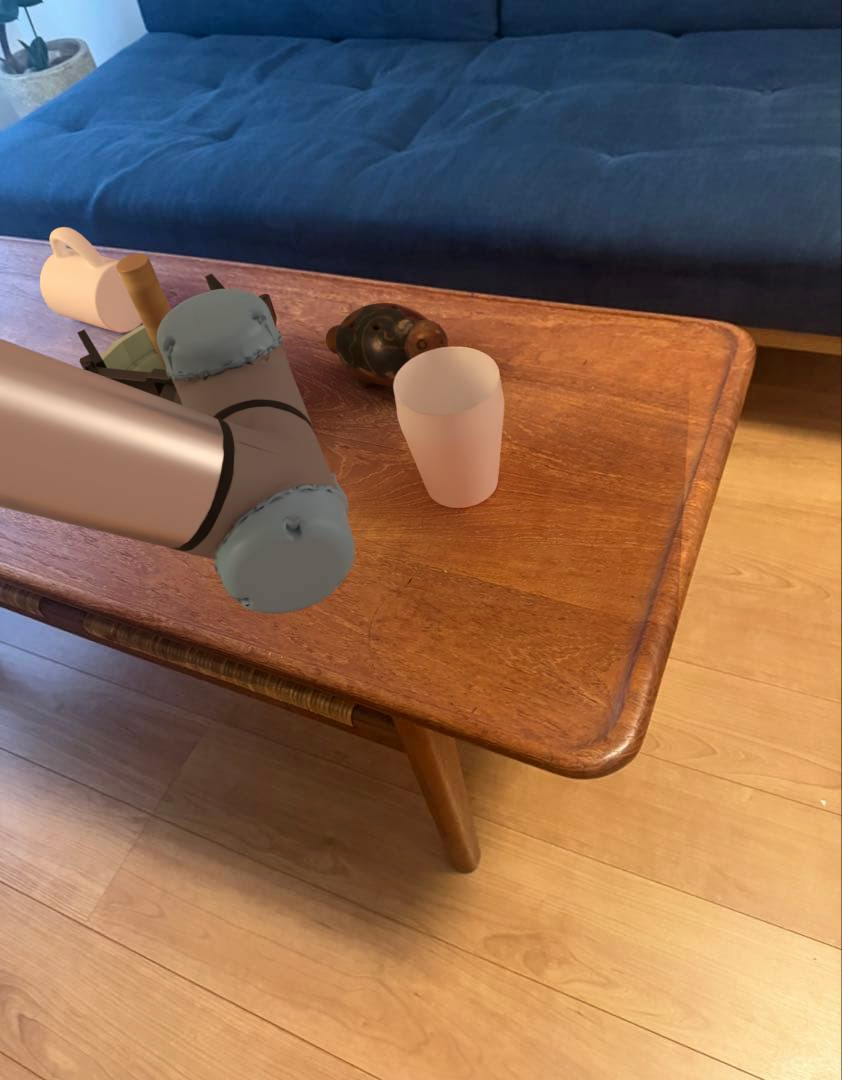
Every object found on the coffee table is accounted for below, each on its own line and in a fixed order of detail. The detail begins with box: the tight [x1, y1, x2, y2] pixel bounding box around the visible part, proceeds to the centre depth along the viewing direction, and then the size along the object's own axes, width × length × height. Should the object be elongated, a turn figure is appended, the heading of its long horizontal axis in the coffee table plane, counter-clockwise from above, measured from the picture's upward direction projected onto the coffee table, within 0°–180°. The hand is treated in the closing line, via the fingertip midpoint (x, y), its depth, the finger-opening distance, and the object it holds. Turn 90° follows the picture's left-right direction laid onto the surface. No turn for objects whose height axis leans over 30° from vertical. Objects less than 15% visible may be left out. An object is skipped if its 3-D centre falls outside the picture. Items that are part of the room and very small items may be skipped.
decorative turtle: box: [325, 302, 449, 397], centre depth 84 cm, size 10×15×8 cm, turn 63°
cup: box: [393, 346, 505, 509], centre depth 71 cm, size 9×9×12 cm
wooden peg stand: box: [116, 252, 172, 370], centre depth 81 cm, size 6×6×17 cm
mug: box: [39, 226, 143, 334], centre depth 99 cm, size 8×10×12 cm
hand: (151, 313), depth 82 cm, fingers open, 13 cm apart
